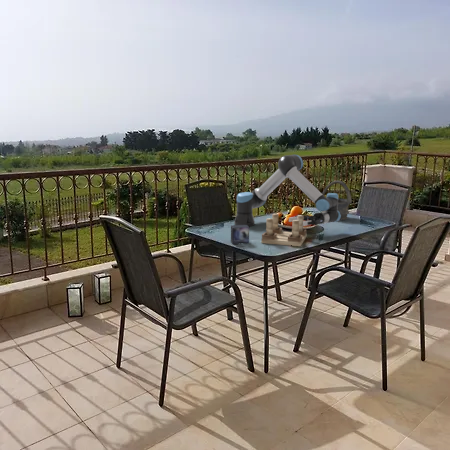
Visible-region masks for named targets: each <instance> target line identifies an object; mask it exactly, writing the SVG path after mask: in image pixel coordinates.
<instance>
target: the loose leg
mask: <svg viewBox="0 0 450 450" xmlns="http://www.w3.org/2000/svg"><path fill="white" fill-rule="evenodd" d="M296 216H297V220H299V231H301V232H303V229H304V226H303V220H304V216H305V215H302V214H297V215H296Z"/></svg>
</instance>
